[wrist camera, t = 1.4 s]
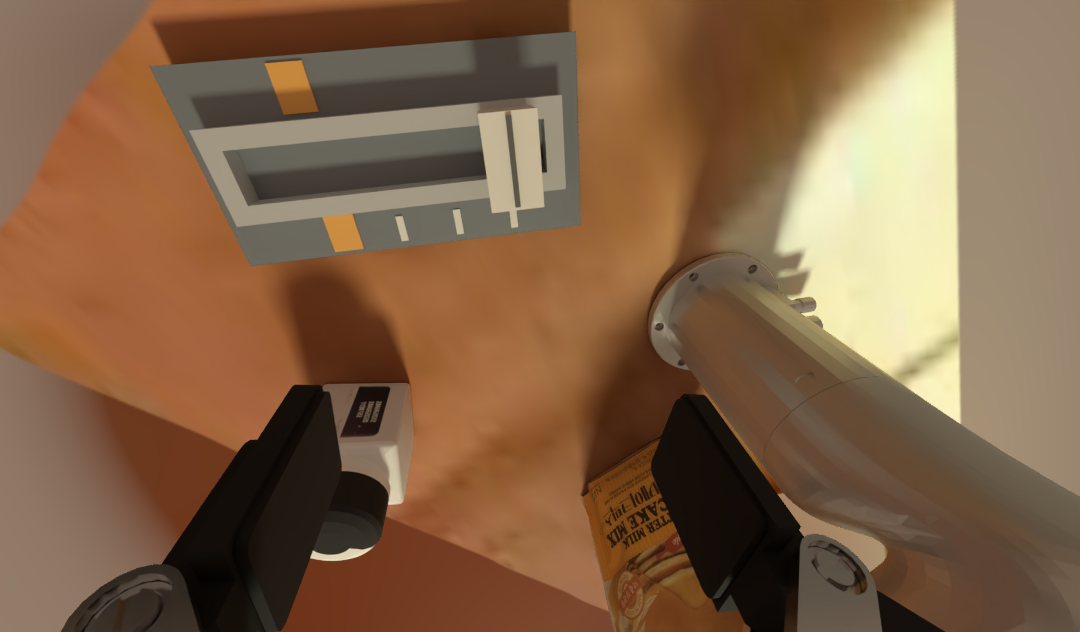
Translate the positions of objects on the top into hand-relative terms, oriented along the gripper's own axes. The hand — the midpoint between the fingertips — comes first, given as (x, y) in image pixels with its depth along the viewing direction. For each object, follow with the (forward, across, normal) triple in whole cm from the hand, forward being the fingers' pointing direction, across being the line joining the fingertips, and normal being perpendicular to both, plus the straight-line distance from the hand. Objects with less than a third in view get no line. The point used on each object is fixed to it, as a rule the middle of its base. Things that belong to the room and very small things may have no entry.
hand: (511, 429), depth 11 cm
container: (+23, +10, +21) cm, 33 cm away
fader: (+20, 0, -5) cm, 21 cm away
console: (+22, +6, -3) cm, 24 cm away
